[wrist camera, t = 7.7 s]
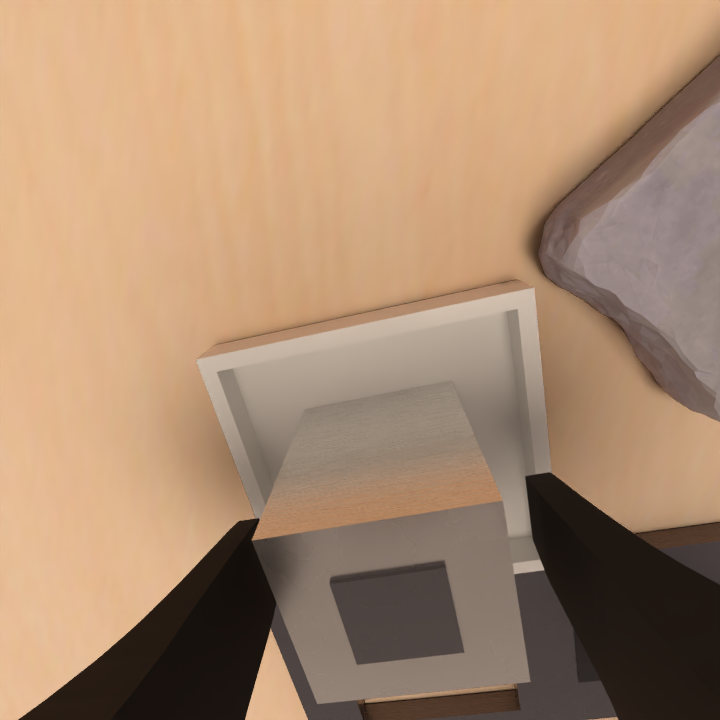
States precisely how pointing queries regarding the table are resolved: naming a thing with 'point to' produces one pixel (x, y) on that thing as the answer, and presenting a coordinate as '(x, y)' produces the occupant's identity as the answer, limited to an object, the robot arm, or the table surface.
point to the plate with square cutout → (543, 649)
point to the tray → (396, 386)
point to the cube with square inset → (392, 551)
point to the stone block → (654, 243)
